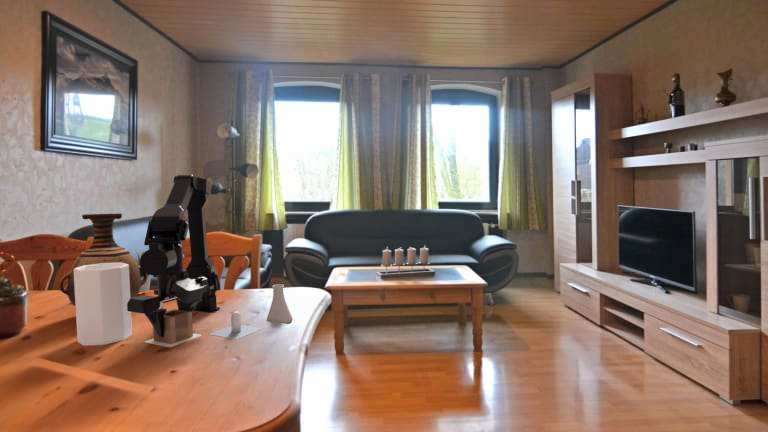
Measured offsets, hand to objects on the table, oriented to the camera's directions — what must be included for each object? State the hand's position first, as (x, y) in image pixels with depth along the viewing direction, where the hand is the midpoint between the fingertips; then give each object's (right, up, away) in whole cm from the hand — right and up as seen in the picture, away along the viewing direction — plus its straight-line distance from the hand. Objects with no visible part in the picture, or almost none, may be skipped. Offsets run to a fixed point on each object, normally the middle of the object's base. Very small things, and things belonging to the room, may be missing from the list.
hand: (173, 332), depth 107 cm
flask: (+21, -1, +17) cm, 27 cm away
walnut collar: (0, -1, 0) cm, 1 cm away
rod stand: (0, -3, 0) cm, 2 cm away
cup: (-17, -3, +2) cm, 17 cm away
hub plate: (+13, -2, +5) cm, 14 cm away
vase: (-32, -2, +26) cm, 41 cm away
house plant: (-36, 0, +55) cm, 66 cm away
